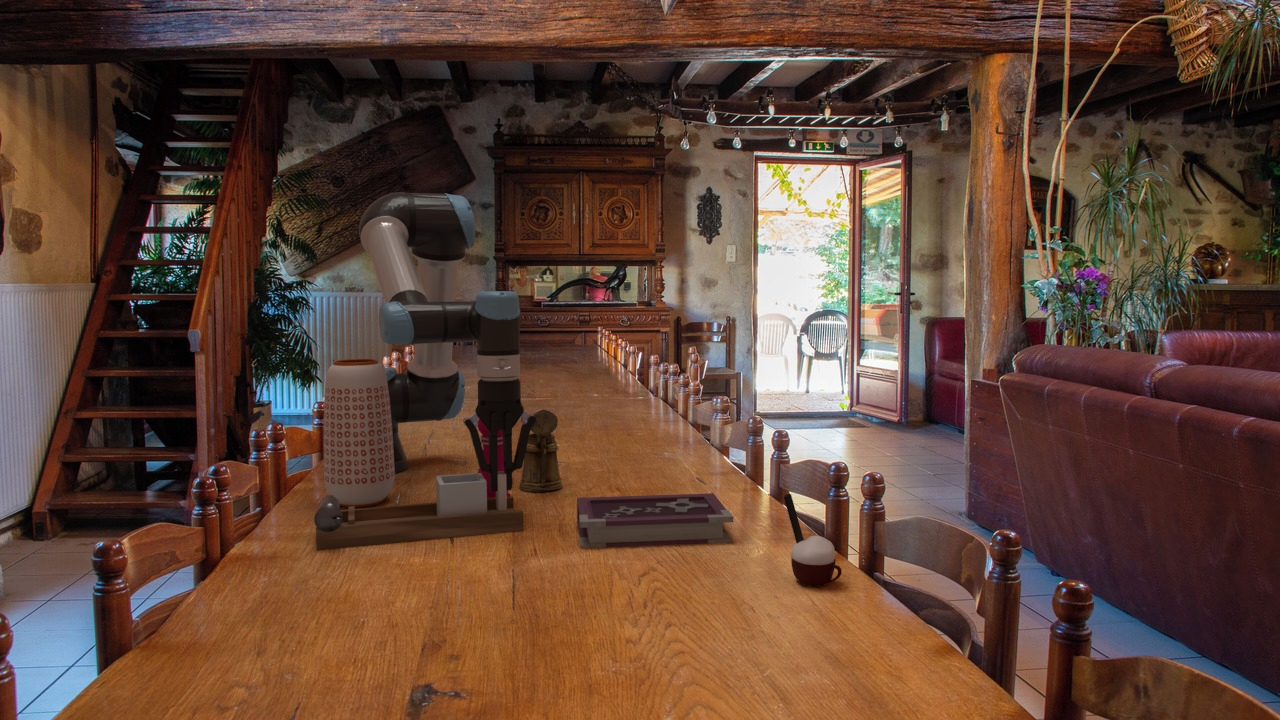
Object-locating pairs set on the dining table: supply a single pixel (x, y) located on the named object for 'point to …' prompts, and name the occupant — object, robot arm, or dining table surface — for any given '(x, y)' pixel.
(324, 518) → the dark grey rounded lump
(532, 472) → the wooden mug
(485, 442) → the pepper mill
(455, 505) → the box
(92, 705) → the dining table surface
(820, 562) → the cocoa
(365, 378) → the planter
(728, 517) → the book
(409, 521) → the bay
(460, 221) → the robot arm
